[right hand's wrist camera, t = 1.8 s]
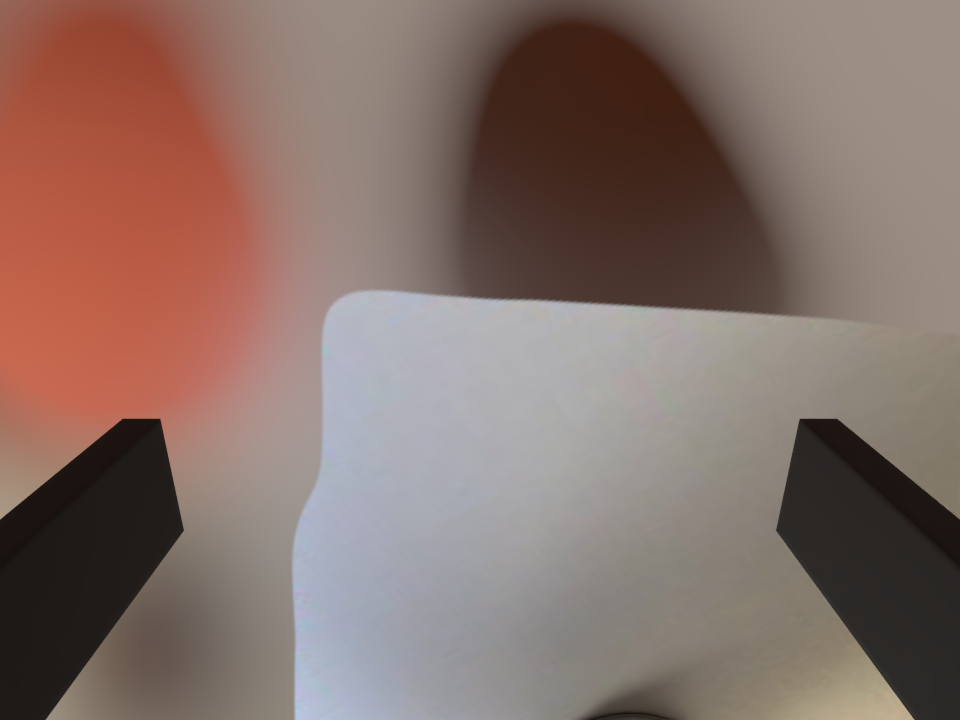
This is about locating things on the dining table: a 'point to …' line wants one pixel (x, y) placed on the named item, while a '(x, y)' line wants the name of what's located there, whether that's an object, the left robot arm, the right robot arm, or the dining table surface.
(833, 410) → the dining table surface
